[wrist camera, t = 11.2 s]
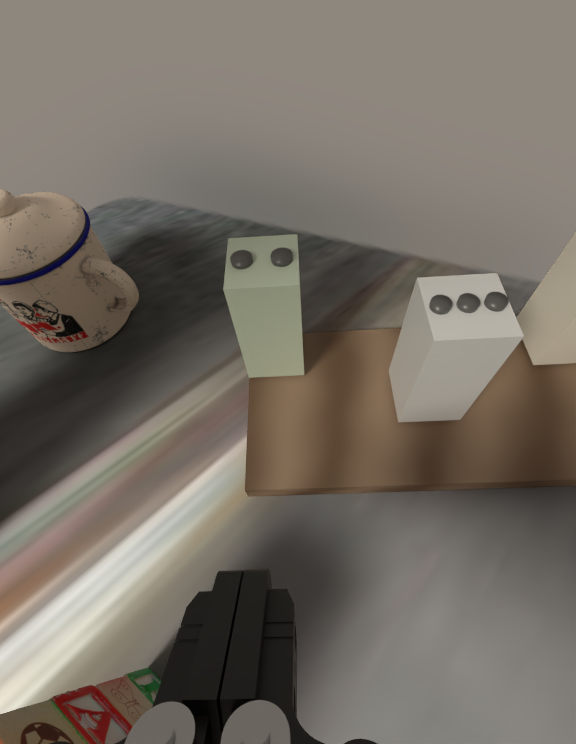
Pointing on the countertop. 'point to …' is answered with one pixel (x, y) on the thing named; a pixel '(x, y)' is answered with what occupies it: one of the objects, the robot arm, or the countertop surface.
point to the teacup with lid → (59, 273)
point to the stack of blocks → (84, 713)
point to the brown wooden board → (404, 426)
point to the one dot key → (553, 313)
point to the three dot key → (451, 345)
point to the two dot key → (266, 303)
